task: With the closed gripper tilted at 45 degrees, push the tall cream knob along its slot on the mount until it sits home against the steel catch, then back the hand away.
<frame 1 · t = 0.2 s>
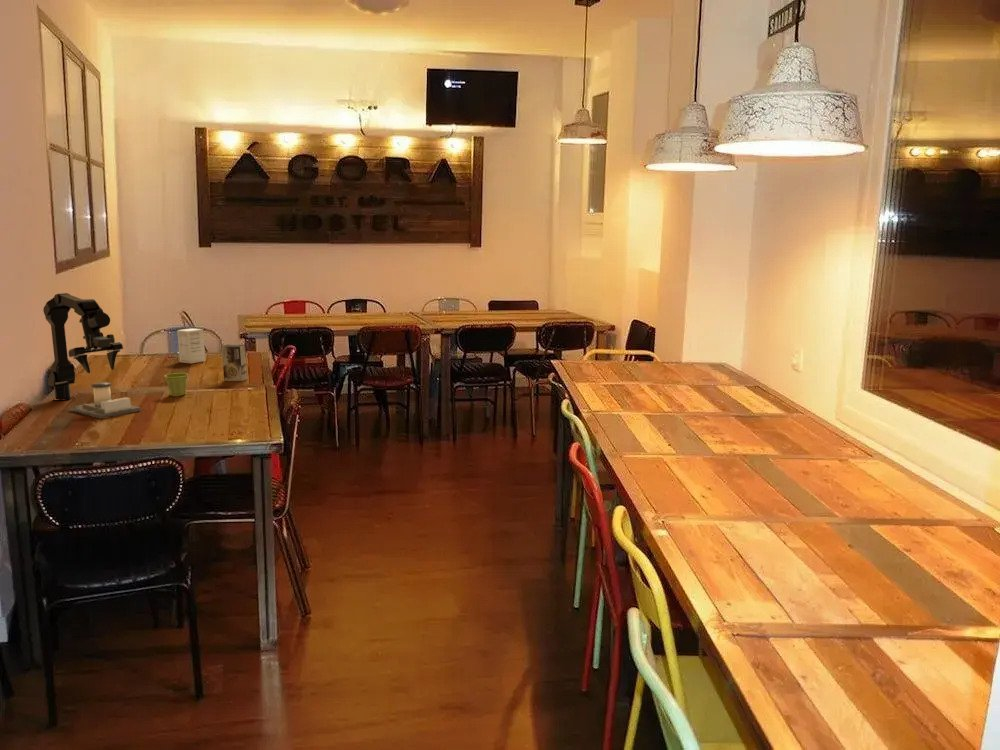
hand: (101, 371, 316), 15 cm above the table, tool tilted 15°, fingers open, 9 cm apart
knob mount: (103, 410, 319), on the table
coffee box: (235, 380, 379), on the table
plant pot: (177, 395, 347), on the table
supplement box: (192, 362, 426), on the table
knob: (102, 394, 318), point 6 cm above the table, slide at 0.0 cm
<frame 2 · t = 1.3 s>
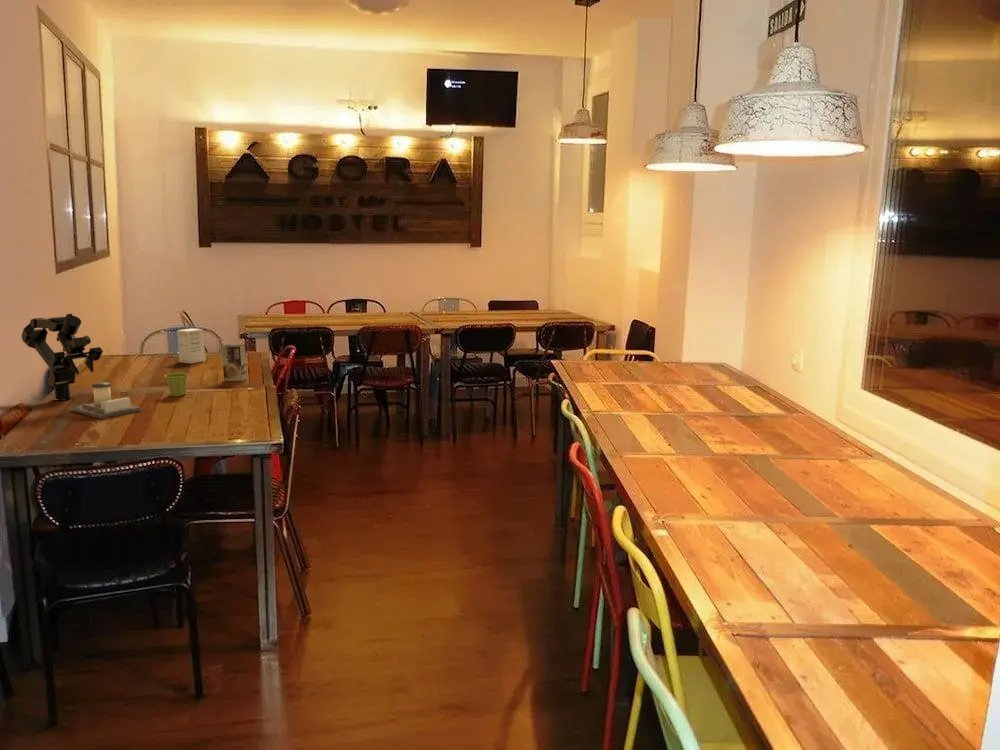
hand: (85, 372, 323), 14 cm above the table, tool tilted 45°, fingers open, 5 cm apart
nothing on the table moved.
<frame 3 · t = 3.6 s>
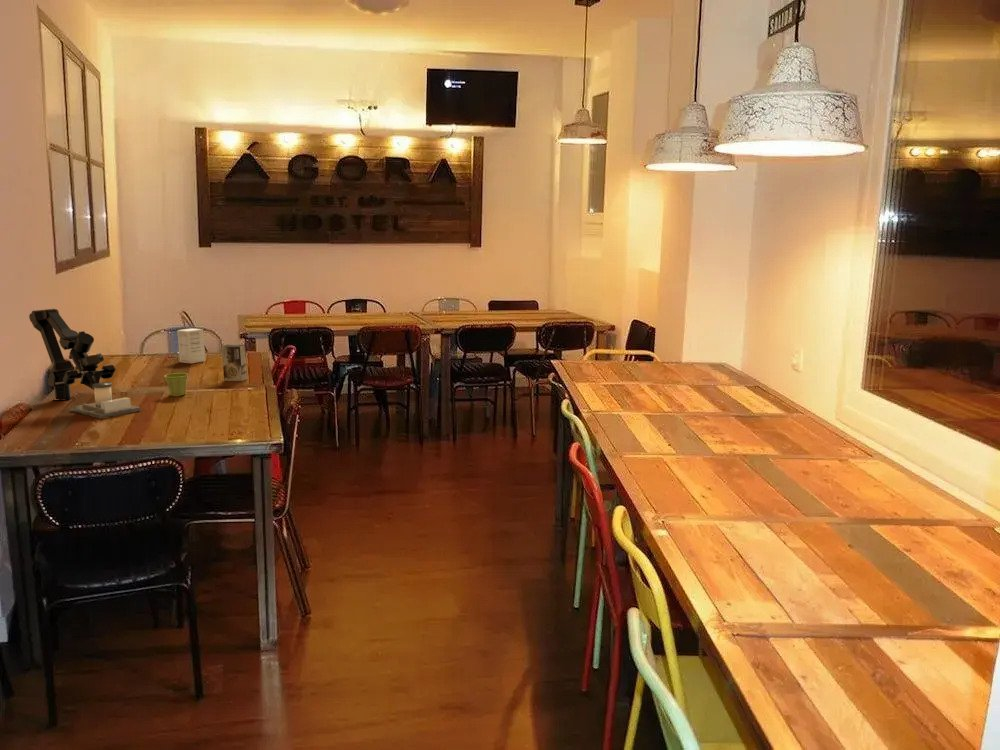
hand: (98, 391, 319), 7 cm above the table, tool tilted 45°, fingers closed, pressing on knob
knob: (103, 395, 317), point 6 cm above the table, slide at 0.7 cm, touching gripper
everything else where it was.
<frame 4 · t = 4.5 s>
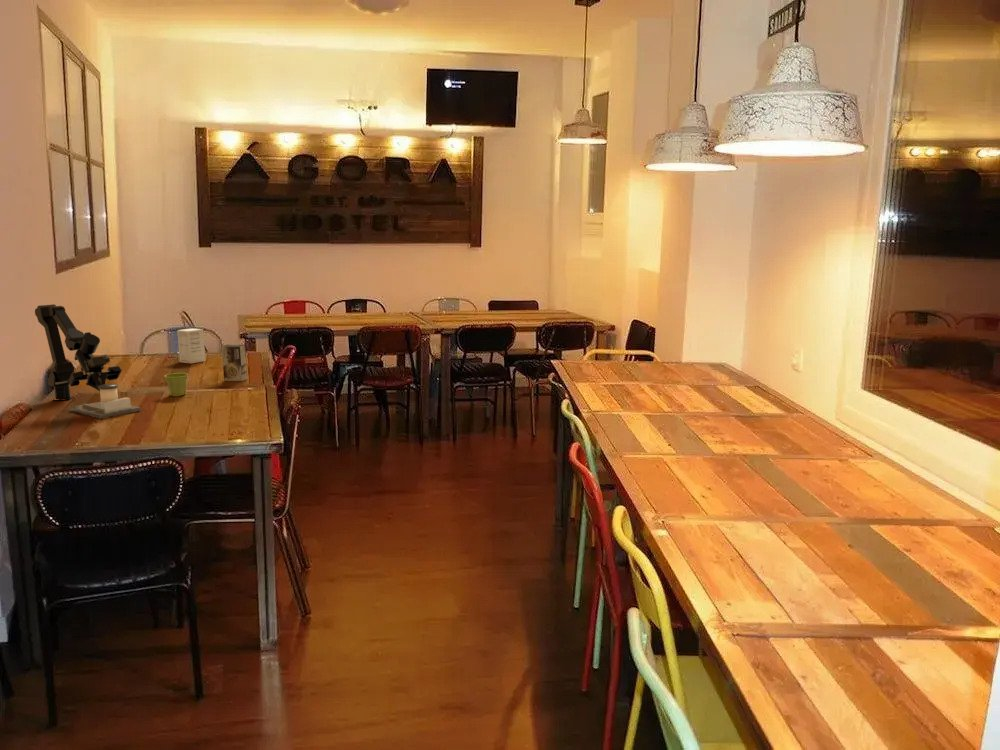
hand: (104, 392, 316), 7 cm above the table, tool tilted 45°, fingers closed, pressing on knob
knob: (109, 396, 315), point 6 cm above the table, slide at 5.2 cm, touching gripper
everything else where it was.
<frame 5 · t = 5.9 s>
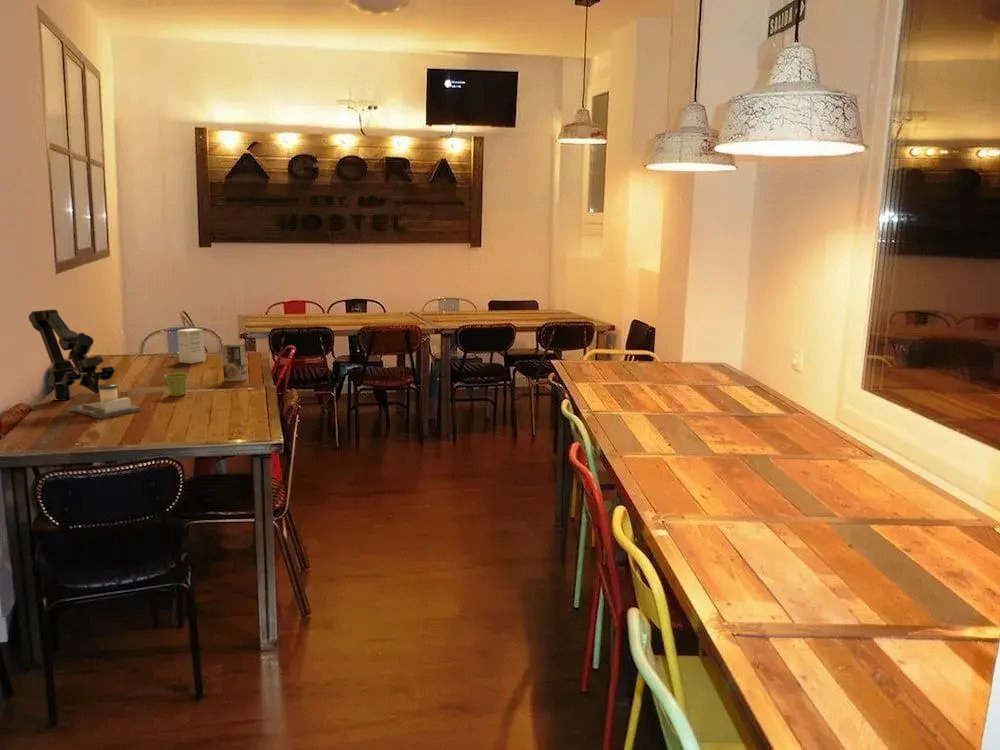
hand: (97, 392, 320), 7 cm above the table, tool tilted 45°, fingers closed
knob: (108, 396, 315), point 6 cm above the table, slide at 5.0 cm
everything else where it was.
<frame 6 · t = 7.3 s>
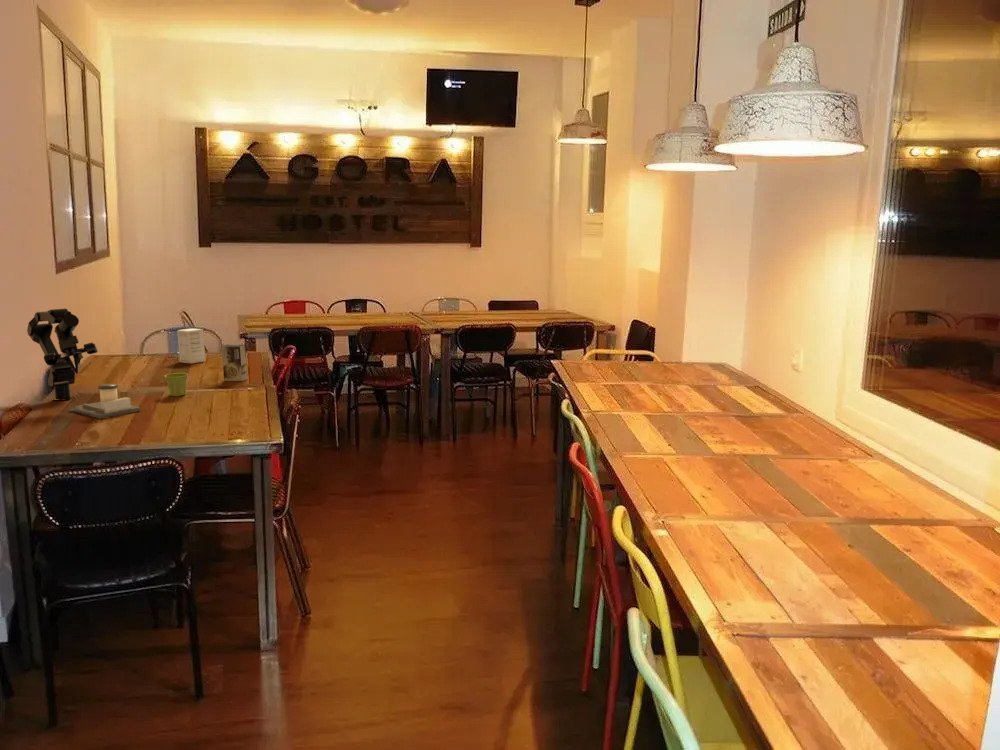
hand: (77, 373, 324), 13 cm above the table, tool tilted 30°, fingers closed
nothing on the table moved.
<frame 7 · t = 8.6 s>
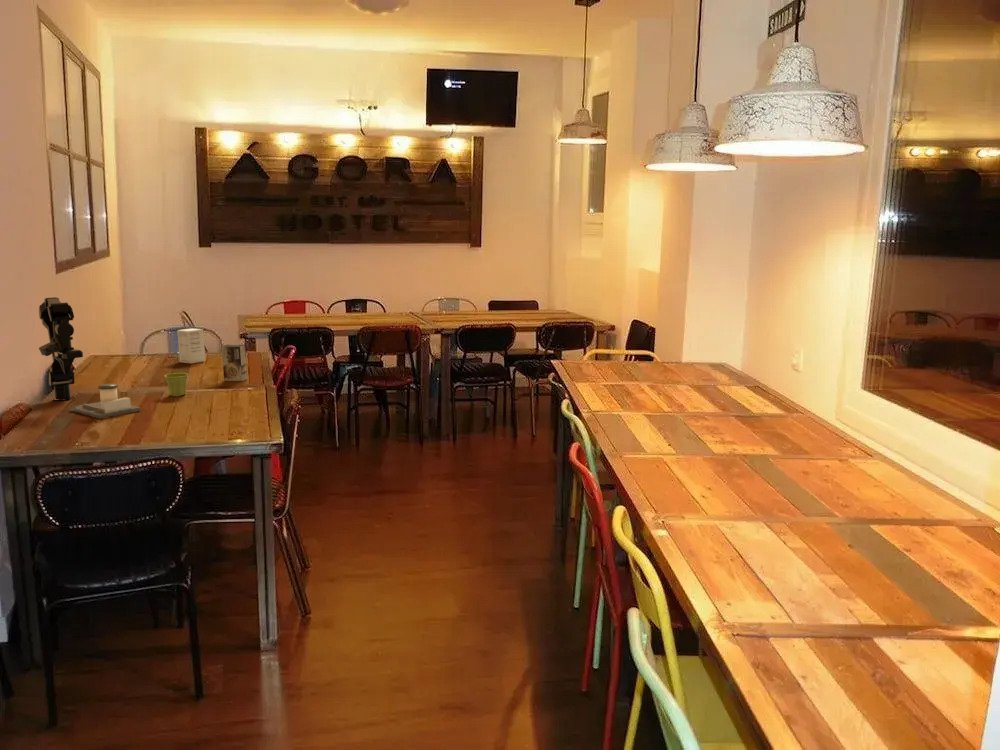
hand: (66, 373, 324), 13 cm above the table, tool pointing down, fingers closed
nothing on the table moved.
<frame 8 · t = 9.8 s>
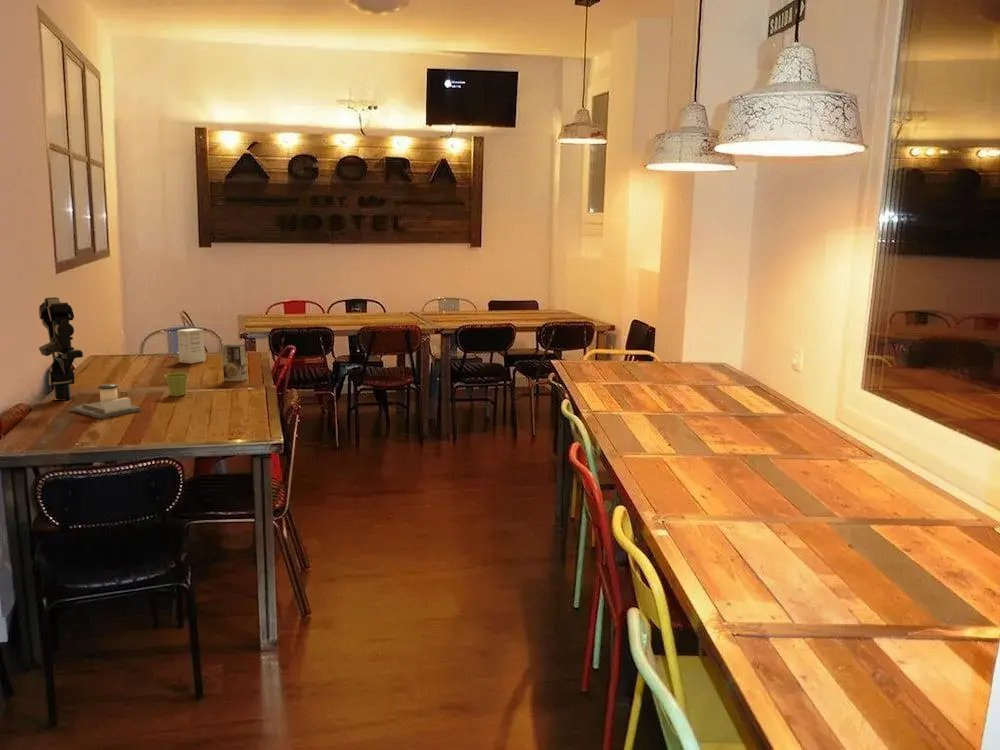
hand: (66, 373, 324), 13 cm above the table, tool pointing down, fingers closed
nothing on the table moved.
at the end: knob slide at 5.0 cm; plant pot moved 0.2 cm from its start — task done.
